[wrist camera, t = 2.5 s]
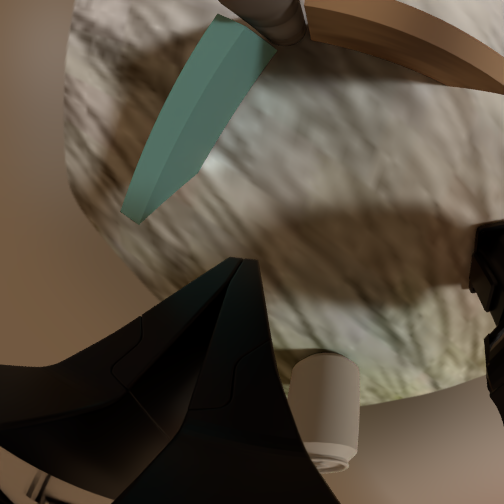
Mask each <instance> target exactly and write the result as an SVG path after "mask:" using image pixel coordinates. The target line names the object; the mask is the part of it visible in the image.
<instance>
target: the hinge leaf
mask: <svg viewBox="0 0 504 504" xmlns="http://www.w3.org/2000/svg"><path fill="white" fill-rule="evenodd" d="M303 23H304V16H303V12H302V8H301V4H300V1H299V7H298V10H297V12H296V14H295V15H294V16H293V17H292V18H291V19H290V20H289V21H287V22H286V23H284V24H282V25H279V26H275V27H267V28H266V27H257V26H254V25H251V24H250V25H251V26H252V27H253V28H255V29H256V30H257V31H258V32H260V33H261V34H262V35H264V36H265V37H267V38H270V39H274V40H284V39H288V38H291V37H293V36H295V35H296V34H297V33H298V32H299V31H300V30H301V28H302V26H303ZM248 24H249V23H248ZM276 52H277V50H276V49H275V48H274V47H272V46H271V45H270V44H269V43H267V42H266V41H265V40H263V39H262V38H261V37H259V36H258V35H257V34H255V33H254V32H253V31H251V30H250V29H248V28H247V27H246V26H244V25H241V24H239V23H237V22H235V21H233V20H231V19H229V18H226V17H224V16H222V15H220V14H217V15H216V17H215V18H214V20H213V21H212V23H211V24H210V26H209V27H208V29H207V30H206V32H205V33H204V35H203V36H202V38H201V39H200V41H199V43H198V44H197V46H196V47H195V49H194V51H193V52H192V54H191V56H190V57H189V59H188V61H187V63H186V64H185V66H184V68H183V70H182V71H181V73H180V75H179V77H178V79H177V80H176V82H175V84H174V86H173V88H172V90H171V92H170V94H169V96H168V98H167V100H166V102H165V104H164V106H163V108H162V110H161V112H160V114H159V116H158V118H157V120H156V122H155V124H154V127H153V129H152V131H151V133H150V136H149V138H148V140H147V142H146V145H145V147H144V150H143V152H142V154H141V157H140V159H139V162H138V164H137V167H136V169H135V172H134V175H133V177H132V180H131V183H130V185H129V188H128V191H127V194H126V197H125V199H124V202H123V205H122V208H121V211H120V212H121V213H123V214H124V215H126V216H127V217H129V218H130V219H131V220H133V221H134V222H136V223H137V224H138V225H139V224H140V223H141V222H142V221H144V220H145V219H146V218H147V217H148V216H149V215H150V214H151V213H152V212H153V211H154V210H155V209H157V208H158V207H159V206H160V205H161V204H162V203H163V202H164V201H166V200H167V199H168V198H169V197H170V196H171V195H172V194H174V193H175V192H176V191H177V190H178V189H179V188H181V187H182V186H183V185H184V184H185V183H186V182H188V181H189V180H190V179H191V178H192V177H194V176H195V175H196V174H197V173H198V172H199V170H200V168H201V166H202V165H203V163H204V161H205V159H206V158H207V156H208V154H209V153H210V151H211V149H212V148H213V146H214V144H215V143H216V141H217V139H218V138H219V136H220V134H221V133H222V131H223V130H224V128H225V126H226V125H227V123H228V122H229V120H230V118H231V117H232V115H233V114H234V112H235V111H236V109H237V108H238V106H239V105H240V103H241V101H242V100H243V98H244V97H245V95H246V94H247V92H248V91H249V90H250V88H251V87H252V85H253V84H254V82H255V81H256V79H257V78H258V76H259V75H260V74H261V72H262V71H263V69H264V68H265V67H266V65H267V64H268V62H269V61H270V60H271V58H272V57H273V56H274V54H275V53H276Z"/></svg>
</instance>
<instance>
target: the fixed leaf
mask: <svg viewBox="0 0 504 504" xmlns="http://www.w3.org/2000/svg"><path fill="white" fill-rule="evenodd" d="M218 1H219V2H220V3H221V4H223V5H224V6H225V7H227V8H228V9H229V10H231V11H232V12H234V13H235V14H236V15H238V16H239V17H240V18H242V19H243V20H244V21H246V22H247V23H249V24H251V25H254V26H257V27H266V28H267V27H275V26H279V25H282V24H284V23H286V22H287V21H289V20H290V19H291V18H292V17H293V16H294V15H295V14H296V12H297V10H298V7H299V0H218ZM304 7H305V11H306V16H307V21H308V26H309V31H310V37H311V40H312V41H317V42H322V43H327V44H331V45H336V46H340V47H344V48H348V49H351V50H355V51H359V52H362V53H365V54H369V55H372V56H375V57H378V58H381V59H384V60H387V61H390V62H393V63H396V64H398V65H401V66H404V67H406V68H409V69H411V70H414V71H416V72H418V73H421V74H423V75H425V76H428V77H430V78H432V79H434V80H436V81H439V82H441V83H443V84H445V85H447V86H452V87H460V88H468V89H475V90H481V91H487V92H492V93H497V94H502V95H504V57H503V56H501V55H500V54H498V53H497V52H495V51H494V50H493V49H491V48H490V47H488V46H487V45H485V44H483V43H482V42H480V41H479V40H477V39H475V38H474V37H472V36H470V35H469V34H467V33H465V32H463V31H462V30H460V29H458V28H456V27H454V26H452V25H451V24H449V23H447V22H445V21H443V20H441V19H439V18H437V17H434V16H432V15H430V14H428V13H426V12H423V11H421V10H419V9H416V8H414V7H412V6H409V5H406V4H404V3H401V2H399V1H396V0H305V3H304ZM305 32H306V24H305V20H304V23H303V26H302V28H301V30H300V31H299V32H298V33H297V34H296V35H295V36H293V37H291V38H288V39H284V40H274V39H270V38H267V37H266V38H267V39H268V40H269V41H271V42H272V43H274V44H277V45H281V46H289V45H293V44H295V43H297V42H299V41H300V40H301V39H302V38H303V36H304V35H305ZM263 36H264V35H263ZM264 37H265V36H264Z"/></svg>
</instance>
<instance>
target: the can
mask: <svg viewBox="0 0 504 504" xmlns="http://www.w3.org/2000/svg"><path fill="white" fill-rule="evenodd" d="M287 400H288V403H289V406H290V409H291V411H292V414H293V417H294V420H295V423H296V425H297V428H298V431H299V433H300V436H301V439H302V441H303V443H304V446H305V448H306V450H307V452H308V454H309V456H310V458H311V460H312V461H313V463H314V465H315V466H316V468H317V469H318V471H319V472H320V473H334V472H339V471H343V470H346V469H347V468H348V467H349V464H348V461H349V460H350V459H352V457H353V456H354V455H356V453H357V448H358V431H359V407H360V372H359V367H358V366H357V365H356V364H355V363H354V362H353V361H351V360H349V359H348V358H347V357H345V356H343V355H340V354H336V353H317V354H314V355H311V356H308V357H307V358H305V359H303V360H301V361H300V362H298V363H297V364H296V365H295V366H294V368H293V369H292V375H291V381H290V387H289V392H288V398H287Z"/></svg>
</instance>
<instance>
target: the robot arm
mask: <svg viewBox="0 0 504 504" xmlns="http://www.w3.org/2000/svg"><path fill="white" fill-rule="evenodd" d="M481 232H483V233H482V234H481ZM469 279H470V283H469V290H470V292H471V293H477V295H478V297H479V299H480V301H481V303H482V306H483V308H484V310H485V311H486V312H490V313H491V315H492V317H493V319H494V322H495V324H496V326H497V327H496V328H495V329H494V330H493V331H492V332H491V333H490V334H488V335H487V336H486V337H485V338H484V345H485V357H486V378H487V387H488V390H489V392H490V398H491V399H492V400H493V402H494V403H495V405H496V406H497V408H498V411H499V413H500V415H501V418H502V421H503V424H504V222H499V223H494V224H488V225H483V226H480V227H478V229H477V231H476V239H475V249H474V253H473V255H472V263H471V270H470V276H469ZM0 504H340V502H339V501H338V499H337V498H336V496H335V495H334V493H333V492H332V490H331V489H330V487H329V486H328V484H327V483H326V481H325V480H324V478H323V477H322V475H321V474H320V472H319V471H318V469H317V468H316V466H315V465H314V463H313V461H312V460H311V458H310V456H309V454H308V452H307V450H306V448H305V446H304V443H303V441H302V439H301V436H300V433H299V431H298V428H297V425H296V423H295V420H294V417H293V414H292V411H291V409H290V406H289V403H288V400H287V398H286V395H285V392H284V389H283V386H282V383H281V379H280V376H279V373H278V369H277V365H276V360H275V355H274V350H273V344H272V339H271V333H270V327H269V321H268V315H267V309H266V303H265V297H264V291H263V285H262V279H261V273H260V267H259V262H258V260H256V259H244V260H243V259H242V258H236V257H229V258H227V259H226V260H224V261H223V262H221V263H220V264H218V265H217V266H215V267H214V268H212V269H210V270H209V271H207V272H206V273H204V274H203V275H201V276H200V277H198V278H197V279H195V280H194V281H192V282H191V283H189V284H188V285H186V286H185V287H183V288H182V289H180V290H179V291H177V292H176V293H174V294H172V295H171V296H169V297H168V298H166V299H165V300H163V301H162V302H160V303H159V304H157V305H156V306H154V307H153V308H151V309H150V310H148V311H147V312H145V313H144V314H142V317H141V316H139V317H138V318H136V319H135V320H133V321H132V322H130V323H129V324H127V325H125V326H124V327H122V328H121V329H119V330H117V331H116V332H115V333H113V334H111V335H109V336H107V337H106V338H104V339H102V340H100V341H99V342H97V343H95V344H93V345H91V346H90V347H88V348H86V349H84V350H82V351H80V352H78V353H76V354H75V355H73V356H71V357H69V358H67V359H66V360H63V361H61V362H60V363H57V364H54V365H50V366H46V367H26V366H25V367H24V366H12V365H0Z"/></svg>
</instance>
